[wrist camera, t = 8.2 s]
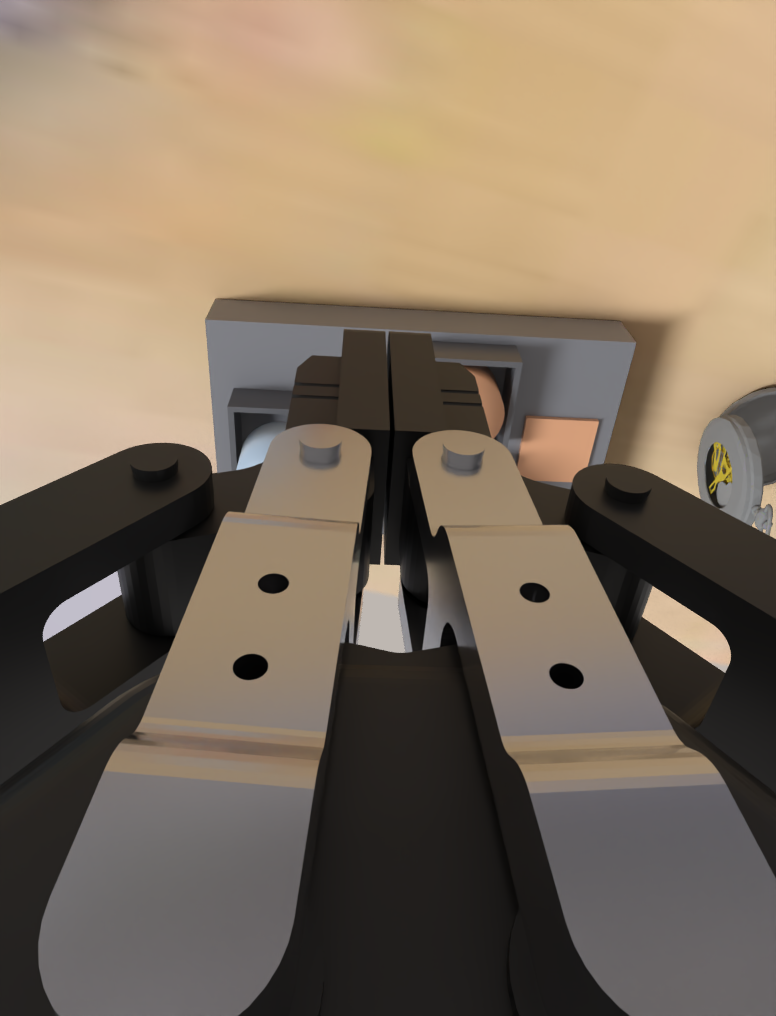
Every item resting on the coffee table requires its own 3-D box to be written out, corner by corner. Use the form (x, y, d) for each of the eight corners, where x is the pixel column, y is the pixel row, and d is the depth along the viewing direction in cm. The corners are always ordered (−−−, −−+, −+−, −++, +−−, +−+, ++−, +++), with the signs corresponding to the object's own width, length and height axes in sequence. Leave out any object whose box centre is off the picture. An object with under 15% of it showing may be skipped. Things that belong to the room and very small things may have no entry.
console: (620, 320, 41) (649, 359, 37) (571, 513, 48) (590, 563, 44) (215, 298, 40) (197, 335, 35) (229, 499, 47) (216, 549, 43)
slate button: (325, 423, 38) (323, 447, 36) (324, 494, 41) (322, 520, 39) (239, 419, 38) (232, 443, 36) (243, 491, 40) (237, 517, 38)
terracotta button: (503, 358, 38) (511, 378, 36) (491, 433, 41) (497, 455, 39) (418, 353, 38) (421, 374, 36) (411, 429, 41) (413, 451, 39)
